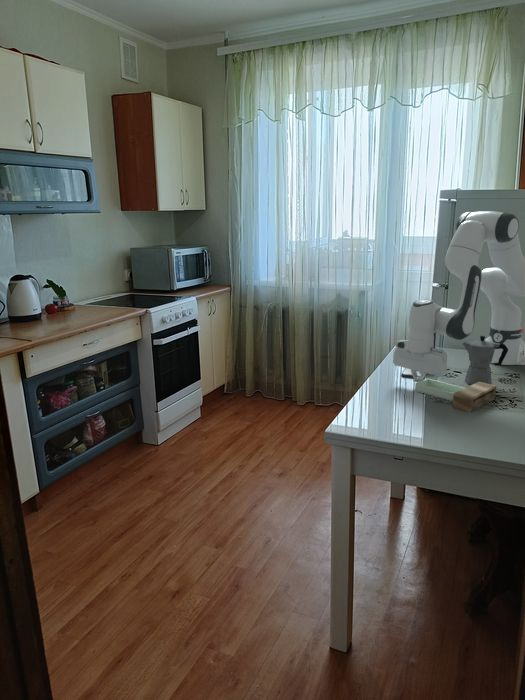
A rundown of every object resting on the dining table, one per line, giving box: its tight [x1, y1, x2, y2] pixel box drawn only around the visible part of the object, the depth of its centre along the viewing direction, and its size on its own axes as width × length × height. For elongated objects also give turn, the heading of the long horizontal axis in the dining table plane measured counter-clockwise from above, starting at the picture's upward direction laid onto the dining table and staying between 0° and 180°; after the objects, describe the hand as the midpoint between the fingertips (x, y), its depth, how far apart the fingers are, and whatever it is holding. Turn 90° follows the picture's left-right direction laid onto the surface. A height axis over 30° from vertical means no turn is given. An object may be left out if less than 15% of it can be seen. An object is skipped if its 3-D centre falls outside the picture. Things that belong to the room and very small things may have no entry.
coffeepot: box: [462, 335, 508, 386], centre depth 187 cm, size 15×9×18 cm, turn 66°
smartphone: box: [400, 368, 428, 380], centre depth 203 cm, size 9×2×16 cm
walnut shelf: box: [452, 382, 497, 413], centre depth 170 cm, size 17×6×5 cm, turn 131°
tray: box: [414, 378, 465, 403], centre depth 178 cm, size 8×16×3 cm, turn 41°
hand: (418, 382), depth 185 cm, fingers closed
